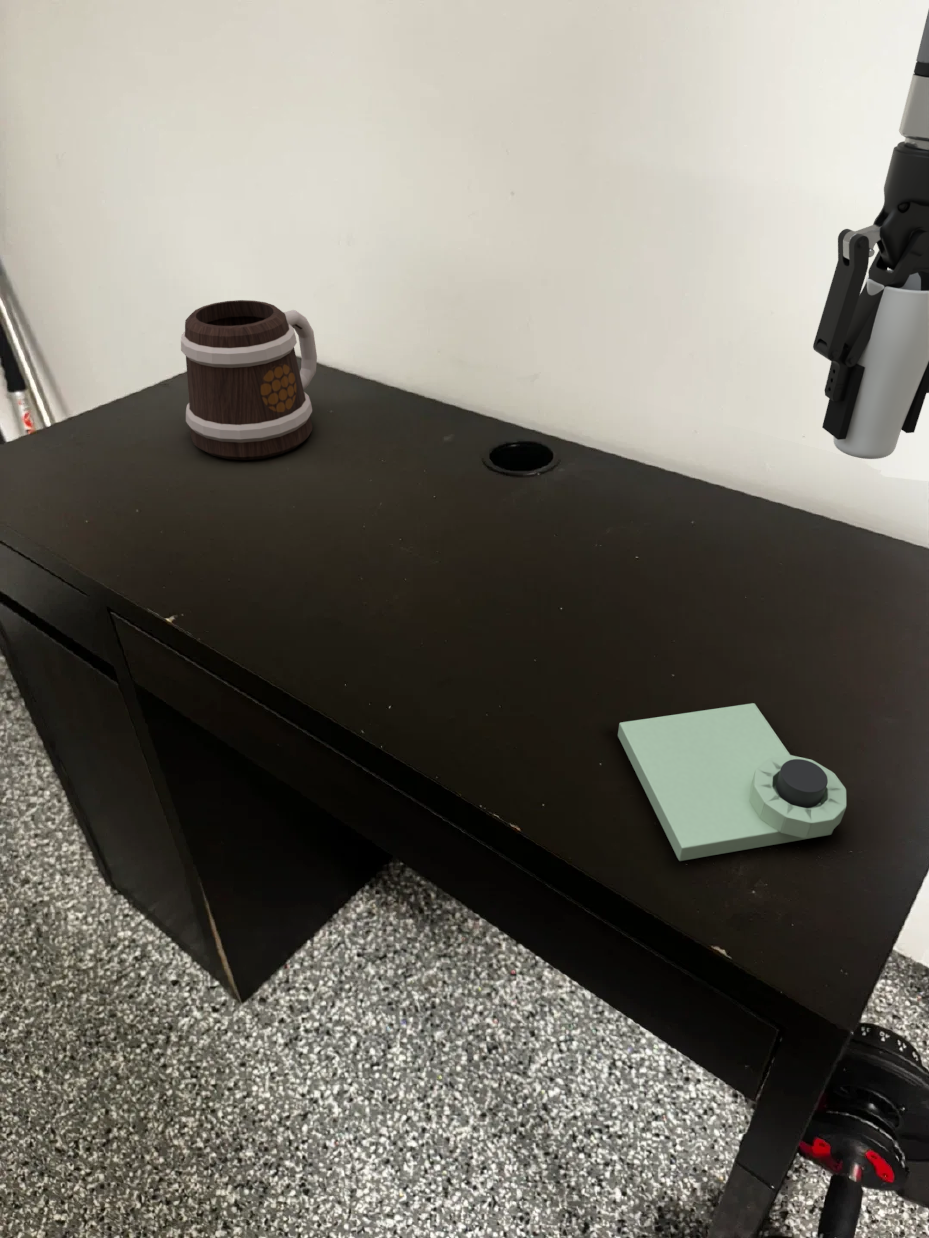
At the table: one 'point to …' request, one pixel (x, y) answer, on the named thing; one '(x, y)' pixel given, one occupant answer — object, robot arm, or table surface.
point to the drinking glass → (889, 369)
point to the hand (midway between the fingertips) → (867, 429)
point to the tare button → (801, 783)
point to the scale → (723, 782)
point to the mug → (248, 379)
